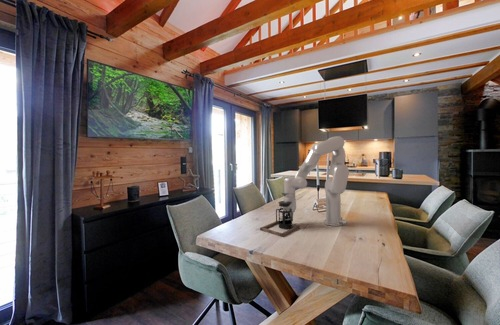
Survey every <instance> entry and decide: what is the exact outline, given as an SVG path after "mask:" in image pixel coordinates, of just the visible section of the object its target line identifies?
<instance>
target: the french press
mask: <svg viewBox="0 0 500 325" xmlns="http://www.w3.org/2000/svg"><path fill="white" fill-rule="evenodd" d="M281 195H283V197H284V196H286V195H287V193H284V192H282V193H281ZM291 203H292V202H288V201H284V200H280V201H278V206H279V207H280V208H276V209H275V222H279V224H278V228H279V229H281V230H290V229H292V228H294V226H293V221H292V209H291V211H283V207H288V206H289V205H290V204H291ZM286 213H291V217H290V216H288V215H287V214H286ZM280 214H281V215H280ZM289 220H291V221H289Z"/></svg>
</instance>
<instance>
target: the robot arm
mask: <svg viewBox="0 0 500 325" xmlns="http://www.w3.org/2000/svg"><path fill="white" fill-rule="evenodd" d="M344 146H345V139H344V138H343V137H342V136H340V135H338V136H336V135H335V136H332V137H329V138H327V139H326V140H323V141H321V142H316V143H313V145H312V146H311V148H310V150H309V152H308V154H307V156H306V157H305V160H304V161H303V163H302V164H301V166H300V168H299V169H298V170H297V173H296V174H295V175H294V177H289V176H288V177H285V178H284V179H283V184H284V185H283V188H284V190H283V191H284V192H283V193H287V195H286V196H284V195H283V197H284V198H283V201H288V202H292V203H291V204H290V205H289V206H288V207H282V208H283V210H282V211H291V209H292V222H294V213H295V212H296V210H297V200H296V189H299V190H300V189H304V188H306V187H307V185H308V181H307V179H306V178H307V177H308V175H309V174H310V172H311V171H313V170H314V169H315V168H316V167H317V165H318V163H319V161H320V159H321V158H322V156H325V155H328V154H330V153H331V160H330V165H329V168H328V172H329V174H330V175H331V176H332V177H330V178H328V179H326V180H325V182H324V190H325V214H326V215H325V218H326V219H324V220H323V223H324V224H325V225H327V226H331V227H341V226H343V225H344V224H347V223H348V220H346V219H343V217H342V214H341V213H342V212H341V211H342V210H341V207H342V206H341V204H342V203H341V195H342V194H343V193H344V192H345V191H346V189H347V184H348V179H349V175H350V174H349V173H350V171H349V167H348V166H347V165H346V164H345V162H346V161H345V160H346V151H345V148H344ZM286 214H287V215H288V216H290V217H291V213H286ZM289 221H291V220H289Z"/></svg>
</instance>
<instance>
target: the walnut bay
mask: <svg viewBox="0 0 500 325" xmlns="http://www.w3.org/2000/svg"><path fill="white" fill-rule="evenodd" d="M276 225H279V222H276V221H274V222H271V223H268V224H266V225H264V226H261V227H259V231H260V232H261V231H262V232H263V233H264V232H265V233H268V234H272V235H275V236H278V237H281V238H284V237H286V236H288V235H289V234H291V233H293V232H295V231H297V230H299V229H301V228H300V225H296V226H293V227H292V228H291V229H286V230H285V231H283V232H279V231H275V230H272V229H269V228H271V227H274V226H276Z"/></svg>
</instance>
